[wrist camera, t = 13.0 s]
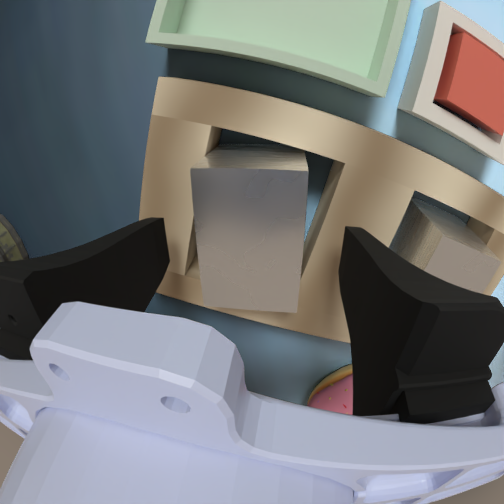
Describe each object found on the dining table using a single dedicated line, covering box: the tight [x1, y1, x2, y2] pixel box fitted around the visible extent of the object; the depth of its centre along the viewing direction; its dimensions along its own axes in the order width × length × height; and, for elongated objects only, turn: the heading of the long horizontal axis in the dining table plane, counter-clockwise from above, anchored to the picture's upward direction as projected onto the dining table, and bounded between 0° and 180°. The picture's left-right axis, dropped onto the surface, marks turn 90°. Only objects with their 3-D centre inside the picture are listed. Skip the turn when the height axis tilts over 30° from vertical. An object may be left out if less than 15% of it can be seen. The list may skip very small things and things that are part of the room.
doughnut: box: [307, 364, 353, 415], centre depth 21 cm, size 11×11×4 cm
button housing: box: [398, 1, 504, 165], centre depth 10 cm, size 6×6×2 cm
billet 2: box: [389, 197, 501, 294], centre depth 14 cm, size 4×6×5 cm, turn 166°
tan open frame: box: [139, 77, 504, 343], centre depth 15 cm, size 20×11×2 cm, turn 76°
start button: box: [434, 32, 504, 136], centre depth 9 cm, size 4×4×2 cm
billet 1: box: [190, 144, 309, 313], centre depth 13 cm, size 4×6×5 cm, turn 0°
